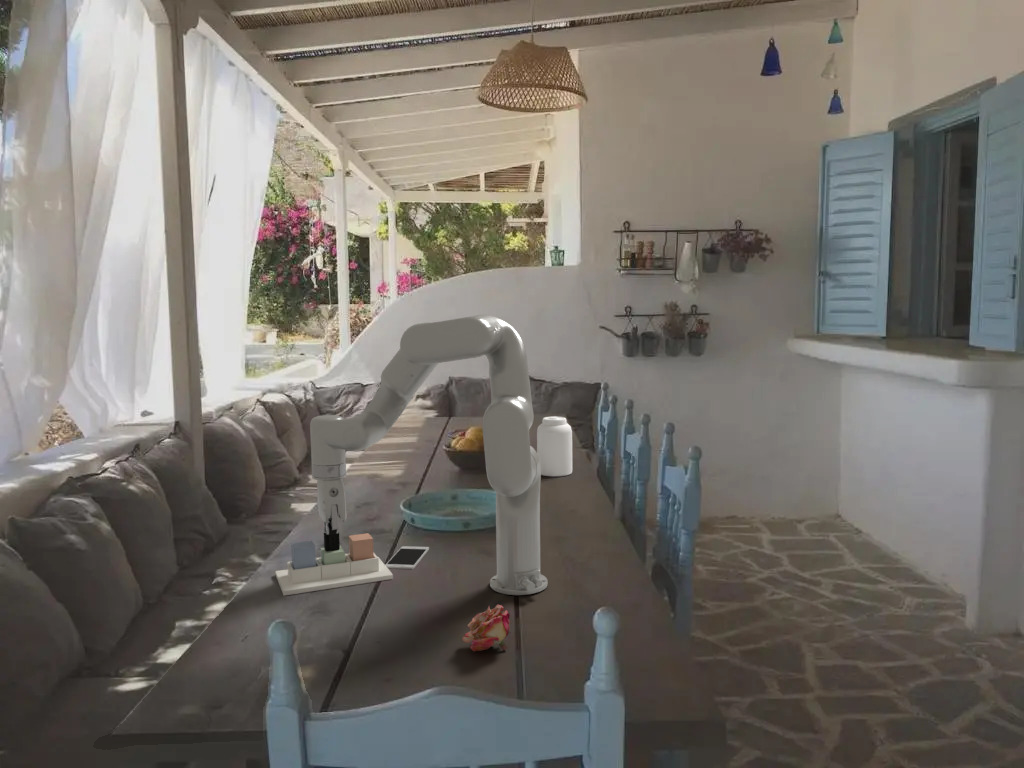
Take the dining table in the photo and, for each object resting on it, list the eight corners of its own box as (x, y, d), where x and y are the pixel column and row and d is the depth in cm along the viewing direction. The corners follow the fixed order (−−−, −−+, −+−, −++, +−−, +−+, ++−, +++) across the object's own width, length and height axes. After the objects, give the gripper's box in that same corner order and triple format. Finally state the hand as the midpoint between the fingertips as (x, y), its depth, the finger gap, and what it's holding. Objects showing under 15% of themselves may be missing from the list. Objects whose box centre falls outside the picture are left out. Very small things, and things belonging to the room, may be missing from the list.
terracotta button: (373, 559, 186) (372, 538, 185) (353, 562, 184) (352, 541, 184) (369, 553, 190) (368, 533, 190) (349, 556, 188) (348, 535, 188)
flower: (523, 629, 150) (498, 594, 151) (526, 640, 141) (499, 603, 142) (481, 661, 150) (456, 626, 150) (481, 674, 140) (454, 636, 141)
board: (393, 578, 183) (392, 561, 183) (283, 595, 174) (282, 577, 174) (378, 560, 196) (377, 544, 196) (275, 575, 187) (274, 558, 186)
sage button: (345, 572, 184) (344, 551, 183) (325, 575, 182) (324, 554, 181) (341, 566, 188) (340, 545, 187) (321, 569, 186) (320, 548, 186)
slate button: (316, 567, 181) (315, 546, 180) (295, 570, 179) (293, 548, 179) (312, 561, 185) (311, 540, 185) (292, 564, 183) (291, 543, 183)
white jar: (531, 471, 291) (530, 416, 289) (562, 468, 297) (561, 413, 294) (547, 478, 280) (546, 421, 278) (578, 474, 285) (578, 418, 283)
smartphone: (429, 550, 205) (429, 546, 205) (413, 570, 190) (413, 566, 190) (402, 549, 206) (402, 545, 206) (383, 569, 191) (383, 565, 191)
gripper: (352, 475, 177) (355, 557, 179) (339, 462, 191) (342, 538, 193) (317, 479, 174) (321, 562, 176) (306, 465, 188) (309, 542, 190)
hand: (332, 549), depth 184 cm, fingers closed
